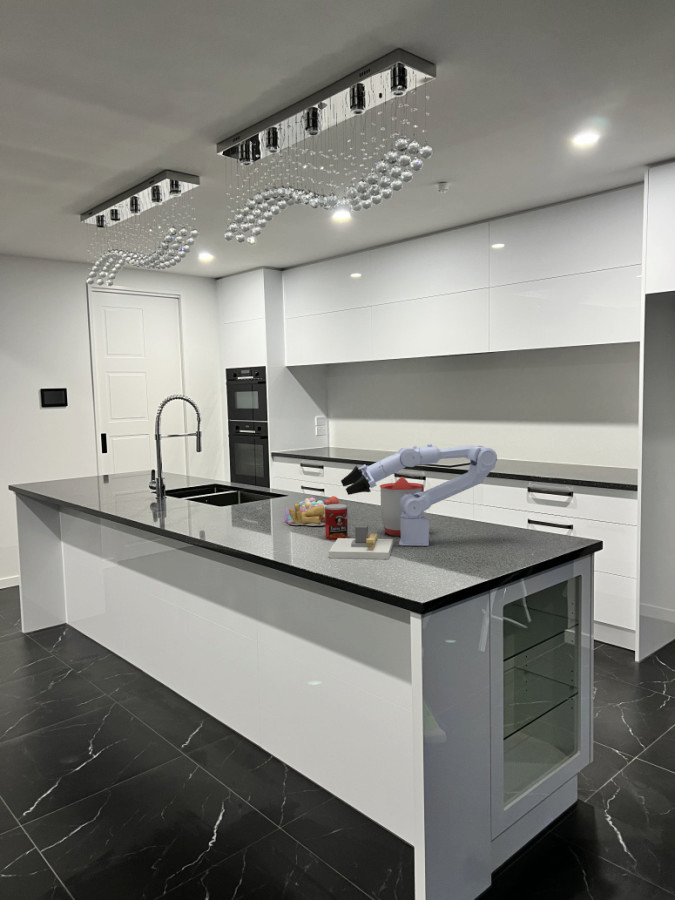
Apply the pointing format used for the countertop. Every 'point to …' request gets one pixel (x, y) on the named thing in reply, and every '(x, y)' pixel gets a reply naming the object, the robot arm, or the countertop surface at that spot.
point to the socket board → (361, 549)
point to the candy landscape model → (309, 512)
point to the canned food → (336, 521)
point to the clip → (371, 539)
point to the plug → (360, 536)
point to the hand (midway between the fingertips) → (344, 487)
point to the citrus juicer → (395, 503)
